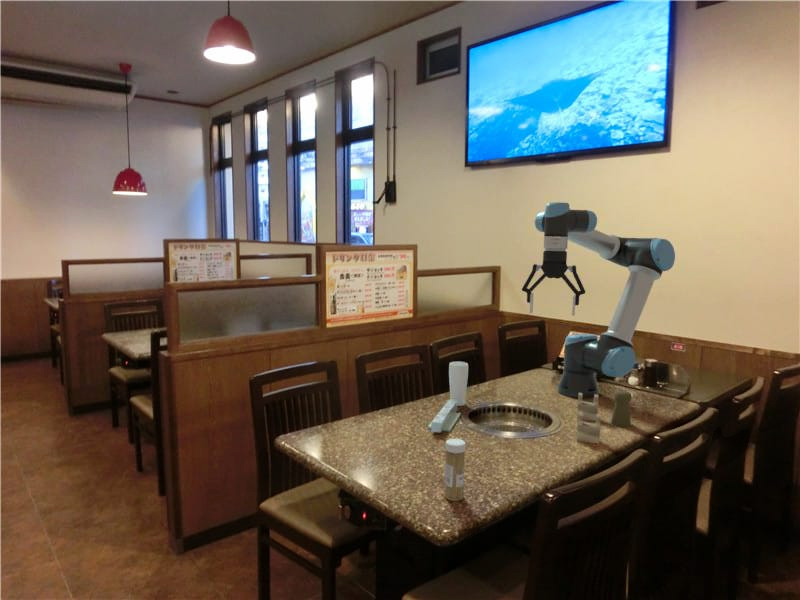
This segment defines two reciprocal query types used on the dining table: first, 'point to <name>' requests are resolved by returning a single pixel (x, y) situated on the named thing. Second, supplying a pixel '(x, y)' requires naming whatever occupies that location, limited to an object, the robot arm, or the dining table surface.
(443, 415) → the steel rail
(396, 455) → the dining table surface
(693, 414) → the dining table surface
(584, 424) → the hook stands
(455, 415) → the sage board
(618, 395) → the olive round-headed peg
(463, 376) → the drinking glass
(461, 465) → the sprinkles bottle
